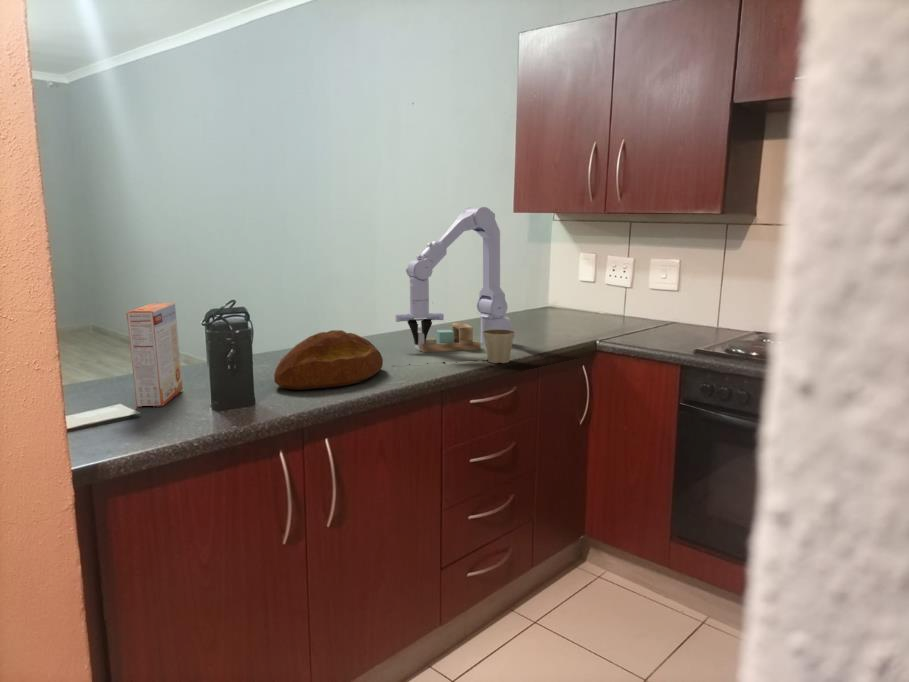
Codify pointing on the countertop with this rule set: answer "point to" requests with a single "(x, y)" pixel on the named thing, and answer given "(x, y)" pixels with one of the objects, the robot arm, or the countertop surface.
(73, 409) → the countertop surface
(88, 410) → the countertop surface
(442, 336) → the block
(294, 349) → the bread
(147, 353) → the cracker box
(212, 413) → the countertop surface
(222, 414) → the countertop surface
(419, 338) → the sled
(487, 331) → the flower pot
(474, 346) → the wooden frame
